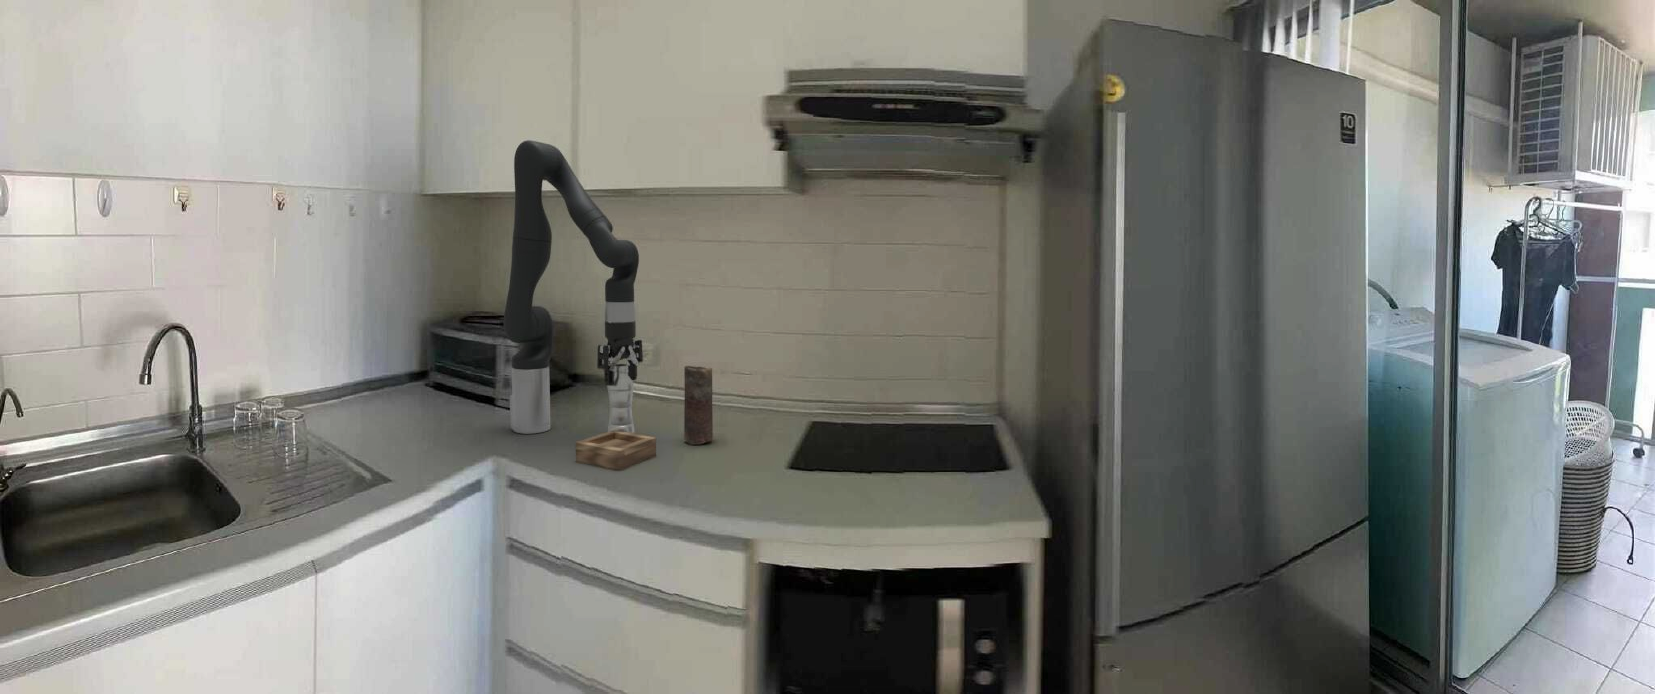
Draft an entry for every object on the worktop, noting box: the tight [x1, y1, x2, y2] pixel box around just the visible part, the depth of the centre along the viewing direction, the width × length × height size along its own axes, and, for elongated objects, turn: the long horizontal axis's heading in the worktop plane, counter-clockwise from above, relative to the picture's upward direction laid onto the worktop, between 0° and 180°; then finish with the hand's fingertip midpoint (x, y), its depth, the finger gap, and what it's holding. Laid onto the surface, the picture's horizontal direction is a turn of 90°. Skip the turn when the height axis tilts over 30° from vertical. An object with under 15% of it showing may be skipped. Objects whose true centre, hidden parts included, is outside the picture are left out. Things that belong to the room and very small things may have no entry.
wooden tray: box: [575, 430, 657, 471], centre depth 166 cm, size 13×13×4 cm
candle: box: [683, 365, 714, 446], centre depth 182 cm, size 8×7×20 cm
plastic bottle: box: [606, 363, 635, 434], centre depth 180 cm, size 6×7×20 cm
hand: (621, 382), depth 179 cm, fingers open, 8 cm apart
